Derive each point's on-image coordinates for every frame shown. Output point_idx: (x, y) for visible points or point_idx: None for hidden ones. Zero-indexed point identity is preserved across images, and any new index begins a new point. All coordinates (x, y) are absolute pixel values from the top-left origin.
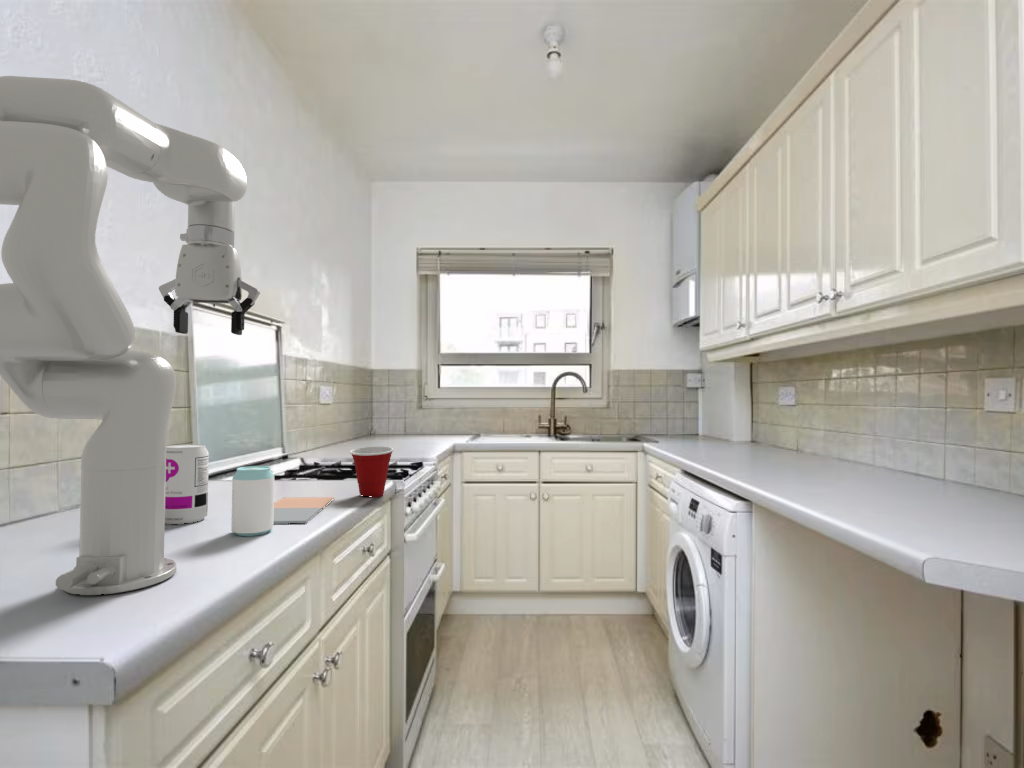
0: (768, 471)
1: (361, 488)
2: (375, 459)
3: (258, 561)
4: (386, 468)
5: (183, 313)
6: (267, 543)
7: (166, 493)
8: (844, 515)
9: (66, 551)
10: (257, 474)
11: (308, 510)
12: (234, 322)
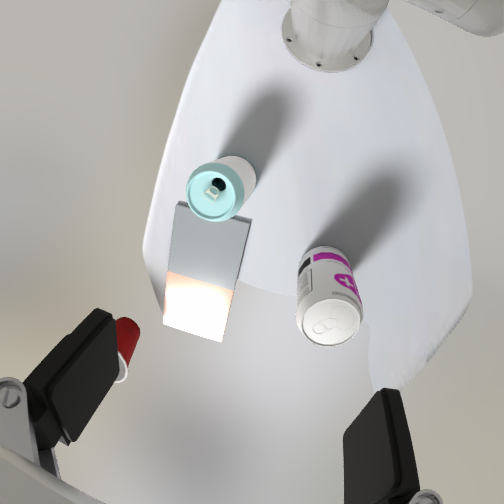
0: None
1: (132, 328)
2: None
3: (211, 56)
4: None
5: (370, 494)
6: (209, 121)
7: (345, 266)
8: None
9: (412, 159)
10: (203, 169)
11: (180, 260)
12: (68, 338)
